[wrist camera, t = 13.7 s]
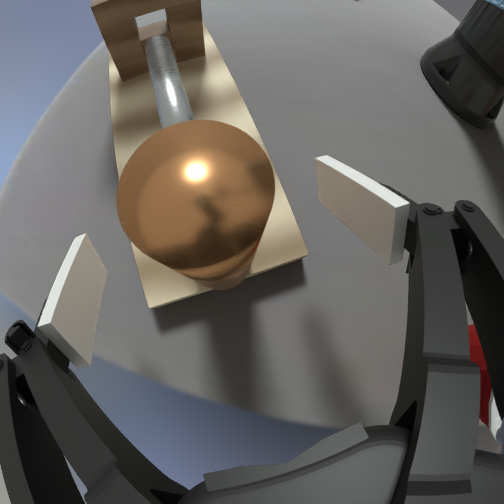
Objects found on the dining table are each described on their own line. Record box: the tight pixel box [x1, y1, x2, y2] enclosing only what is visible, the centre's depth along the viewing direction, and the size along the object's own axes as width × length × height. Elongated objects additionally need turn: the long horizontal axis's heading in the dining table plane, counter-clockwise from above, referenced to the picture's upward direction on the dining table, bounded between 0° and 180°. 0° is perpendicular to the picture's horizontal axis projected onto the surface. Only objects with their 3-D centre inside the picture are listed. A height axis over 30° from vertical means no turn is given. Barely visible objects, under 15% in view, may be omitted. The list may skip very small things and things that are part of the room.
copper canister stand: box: [91, 0, 308, 308], centre depth 17 cm, size 32×12×12 cm, turn 19°
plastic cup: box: [468, 324, 502, 441], centre depth 15 cm, size 11×11×12 cm
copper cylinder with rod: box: [117, 35, 275, 290], centre depth 13 cm, size 19×4×12 cm, turn 19°
